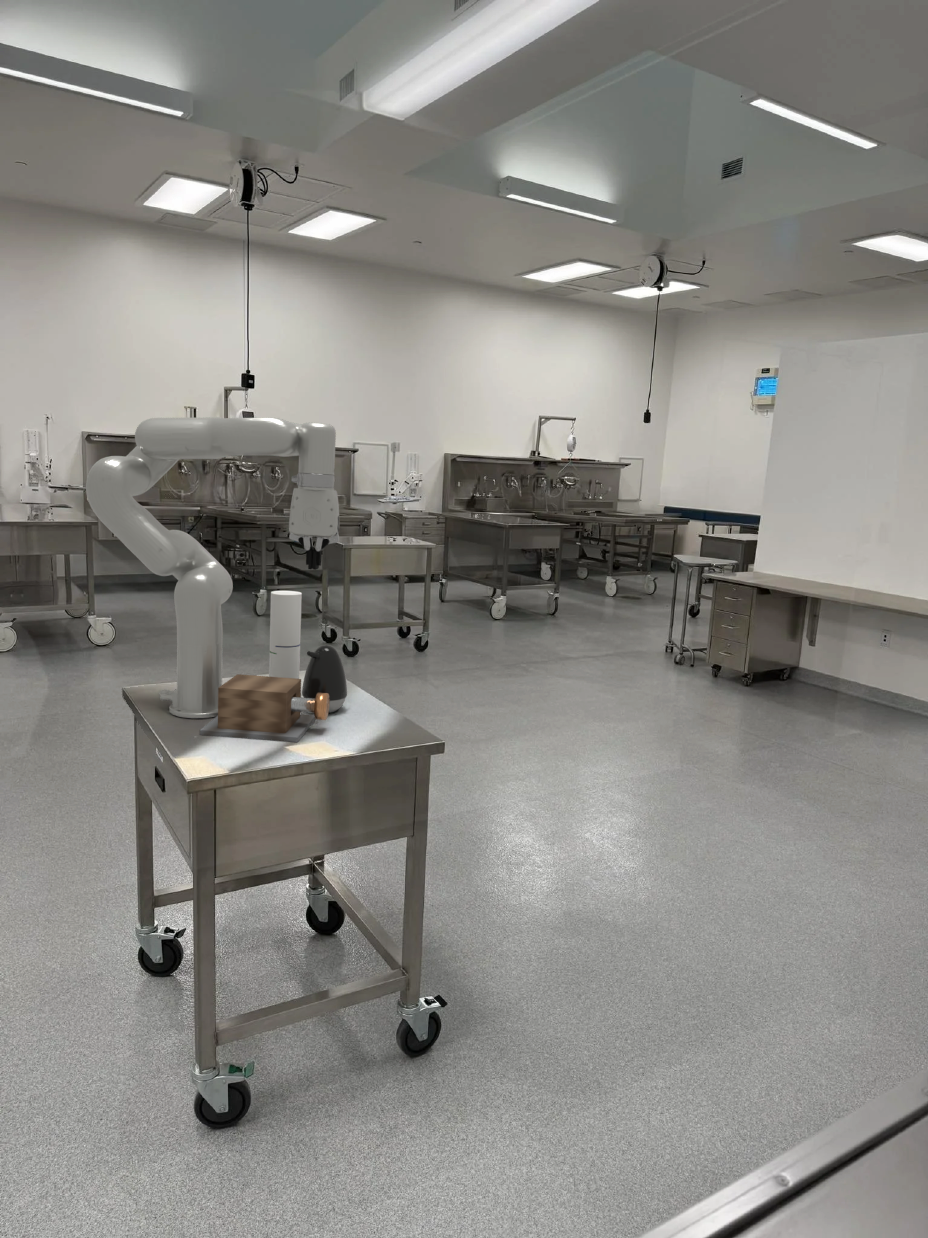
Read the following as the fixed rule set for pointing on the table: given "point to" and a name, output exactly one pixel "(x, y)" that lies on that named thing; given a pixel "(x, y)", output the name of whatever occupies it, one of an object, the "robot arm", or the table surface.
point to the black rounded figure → (325, 676)
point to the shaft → (312, 705)
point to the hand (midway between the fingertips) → (313, 568)
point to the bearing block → (259, 709)
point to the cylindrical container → (285, 634)
